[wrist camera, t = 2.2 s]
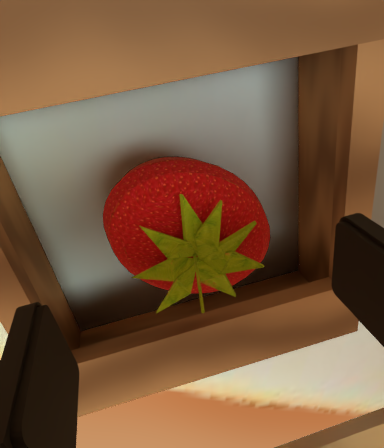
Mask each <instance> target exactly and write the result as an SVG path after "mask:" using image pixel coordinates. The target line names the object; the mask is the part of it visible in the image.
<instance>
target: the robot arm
mask: <svg viewBox="0 0 384 448" xmlns="http://www.w3.org/2000/svg"><path fill="white" fill-rule="evenodd" d="M331 285H332V290H333V292H334V294H335V295H336V296H337V297H338V298H339V299H340V301H341V302H342V303H343V304H344V305H345V306H346V307H347V308H348V309H349V310H350V311H351V312H352V313H353V315H354V316H355V317H356V318H357V319H358V320H359V321H360V322H361V323H362V324H363V325H364V326H365V327H366V328H367V330H368V331H369V332H370V333H371V334H372V335H373V336H374V337H375V338H376V339H377V340H378V341H379V342H380V343H381V345H382V346H383V347H384V228H383V227H381V226H380V225H378V224H377V223H375V222H374V221H372V220H371V219H369V218H368V217H366V216H365V215H363V214H361V213H355V214H351V215H348V216H344V217H342V218H341V219H340V221H339V223H337V224H336V229H335V242H334V256H333V270H332V284H331ZM78 393H79V367H78V364H77V361H76V359H75V358H74V356H73V354H72V352H71V350H70V348H69V346H68V344H67V342H66V340H65V338H64V336H63V334H62V332H61V330H60V328H59V326H58V324H57V322H56V320H55V318H54V316H53V314H52V312H51V310H50V308H49V307H48V305H43V306H42V305H41V304H40V303H39V302H35V303H31V304H28V305H24V306H21V307H18V308H17V309H16V311H15V314H14V317H13V321H12V324H11V328H10V331H9V334H8V338H7V341H6V344H5V348H4V351H3V355H2V358H1V360H0V448H76V433H77V413H78ZM275 448H384V408H382V409H379V410H376V411H373V412H371V413H368V414H365V415H362V416H359V417H357V418H354V419H351V420H349V421H346V422H343V423H340V424H338V425H335V426H332V427H329V428H327V429H324V430H321V431H319V432H316V433H313V434H310V435H308V436H305V437H302V438H300V439H297V440H294V441H291V442H289V443H286V444H283V445H280V446H278V447H275Z"/></svg>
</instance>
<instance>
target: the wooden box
mask: <svg viewBox="0 0 384 448" xmlns="http://www.w3.org/2000/svg"><path fill="white" fill-rule="evenodd" d="M298 56H299V95H298V271H295V272H291V273H287V274H284V275H280V276H277V277H273V278H270V279H266V280H262V281H259V282H255V283H252V284H248V285H245V286H241V287H237V288H234V289H233V290H234V291H235V293H236V297H234V296H231V295H229V294H227V293H224V292H220V293H216V294H212V295H209V296H205V297H203V303H204V310H205V312H204V313H201V306H200V299H199V298H198V299H195V300H191V301H187V302H184V303H180V304H177V305H173V306H170V307H167V308H165V309H164V310H162V311H160V312H158V313H157V314H156V311H157V310H155V311H152V312H148V313H145V314H141V315H137V316H134V317H130V318H127V319H123V320H120V321H116V322H112V323H109V324H105V325H102V326H98V327H95V328H91V329H87V330H84V331H80V329H79V327H78V324H77V322H76V320H75V318H74V316H73V313H72V311H71V309H70V307H69V305H68V303H67V300H66V298H65V296H64V294H63V292H62V289H61V287H60V285H59V283H58V281H57V279H56V276H55V274H54V272H53V270H52V268H51V266H50V263H49V261H48V259H47V257H46V255H45V252H44V250H43V248H42V246H41V244H40V242H39V239H38V237H37V235H36V233H35V231H34V229H33V226H32V224H31V222H30V220H29V218H28V215H27V213H26V211H25V209H24V207H23V205H22V202H21V200H20V198H19V196H18V194H17V192H16V189H15V187H14V185H13V183H12V181H11V178H10V176H9V174H8V172H7V170H6V168H5V165H4V163H3V161H2V159H1V157H0V322H1V323H2V325H3V327H4V328H5V330H6V332H7V333H8V334H9V331H10V328H11V324H12V321H13V317H14V314H15V311H16V309H17V308H18V307H21V306H24V305H28V304H31V303H35V302H39V303H40V304H41V305H42V306H43V305H48V307H49V308H50V310H51V312H52V314H53V316H54V318H55V320H56V322H57V324H58V326H59V328H60V330H61V332H62V334H63V336H64V338H65V340H66V342H67V344H68V346H69V348H70V350H71V352H72V354H73V356H74V358H75V359H76V361H77V364H78V367H79V393H78V413H77V417H80V416H83V415H86V414H90V413H93V412H96V411H99V410H102V409H106V408H109V407H112V406H116V405H119V404H122V403H125V402H128V401H132V400H135V399H138V398H141V397H145V396H148V395H151V394H154V393H158V392H161V391H164V390H167V389H171V388H174V387H177V386H180V385H184V384H187V383H190V382H193V381H197V380H200V379H203V378H206V377H209V376H213V375H216V374H219V373H222V372H226V371H229V370H232V369H235V368H239V367H242V366H245V365H248V364H252V363H255V362H258V361H261V360H264V359H268V358H271V357H274V356H277V355H281V354H284V353H287V352H290V351H294V350H297V349H300V348H303V347H307V346H310V345H313V344H316V343H320V342H323V341H326V340H329V339H332V338H336V337H339V336H342V335H345V334H349V333H352V332H355V331H357V330H358V322H359V320H358V319H357V318H356V317H355V316H354V315H353V313H352V312H351V311H350V310H349V309H348V308H347V307H346V306H345V305H344V304H343V303H342V302H341V301H340V299H339V298H338V297H337V296H336V295H335V294H334V292H333V290H332V285H331V284H332V270H333V256H334V242H335V229H336V224H337V223H339V221H340V219H341V218H342V217H344V216H348V215H351V214H355V213H361V214H363V215H365V216H366V217H368V218H369V219H371V218H372V209H373V201H374V193H375V185H376V177H377V169H378V161H379V153H380V145H381V137H382V129H383V121H384V0H0V116H4V115H9V114H14V113H19V112H24V111H29V110H34V109H39V108H44V107H49V106H54V105H59V104H64V103H69V102H74V101H79V100H84V99H89V98H94V97H99V96H104V95H109V94H114V93H119V92H124V91H129V90H134V89H139V88H144V87H149V86H154V85H159V84H164V83H169V82H173V81H178V80H183V79H188V78H193V77H198V76H203V75H208V74H213V73H218V72H223V71H228V70H233V69H238V68H243V67H248V66H253V65H258V64H263V63H268V62H273V61H278V60H283V59H288V58H293V57H298Z"/></svg>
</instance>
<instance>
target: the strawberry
mask: <svg viewBox="0 0 384 448" xmlns="http://www.w3.org/2000/svg"><path fill="white" fill-rule="evenodd" d="M103 223H104V229H105V232H106V235H107V238H108V240H109V243H110V245H111V247H112V249H113V252H114V253H115V255H116V256H117V258H118V260H119V261H120V263H121V264H122V265H123V266H124V267H125V268H126V269H127V270H128V271H129V272H130V273H132V274H133V275H135V276H134V277H132V278H138V279H141V280H142V281H144V282H146V283H149V284H151V285H153V286H155V287H158V288H162V289H165V290H169V291H168V293H167V294H166V296H165V298H164V299H163V301H162V303H161V304H160V306H159V308H158V309H157V311H156V314H157V313H158V312H160V311H162V310H164V309H165V308H167V307H169V306H171V305H172V304H174V303H176V302H178V301H179V300H181V299H183V298H185V297H186V296H188V295H190V294H191V293H198V294H199V299H200V306H201V313H204V312H205V310H204V303H203V296H202V293H209V292H215V291H218V290H219V291H222V292H224V293H227V294H229V295H231V296H234V297H236V293H235V291H234V290H233V288H232V285H235V284H236V283H238V282H239V281H241V280H243V279H244V278H246V277H247V276H248V275H249V274H251V273H252V272H253V271H254V270H255V269H256V268H262V267H264V265H263V264H261V261H262V260H263V259H264V257H265V254H266V252H267V250H268V246H269V241H270V228H269V224H268V220H267V217H266V215H265V212H264V210H263V208H262V205H261V203H260V202H259V200H258V198H257V197H256V195H255V193H254V192H253V191H252V190H251V189H250V187H249V186H248V185H247V184H246V183H245V182H244V181H242V180H241V179H240V178H238V177H237V176H236V175H234V174H233V173H231V172H229V171H227V170H225V169H223V168H221V167H219V166H216V165H213V164H209V163H206V162H203V161H199V160H195V159H192V158H185V157H162V158H157V159H152V160H149V161H147V162H144V163H142V164H139V165H138V166H136V167H135V168H133V169H132V170H130V171H129V172H128V173H127V174H126V175H125V176H124V177H123V178H122V179H121V180H120V181H119V182H118V183H117V184H116V185H115V187H114V188H113V189H112V190H111V192H110V194H109V196H108V198H107V200H106V202H105V206H104V211H103Z"/></svg>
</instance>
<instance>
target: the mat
mask: <svg viewBox="0 0 384 448" xmlns="http://www.w3.org/2000/svg"><path fill="white" fill-rule="evenodd" d="M371 220H372V221H374V222H375V223H377V224H378V225H380V226H381V227H383V228H384V121H383V129H382V137H381V145H380V153H379V161H378V169H377V177H376V185H375V193H374V201H373V209H372V218H371Z"/></svg>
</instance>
